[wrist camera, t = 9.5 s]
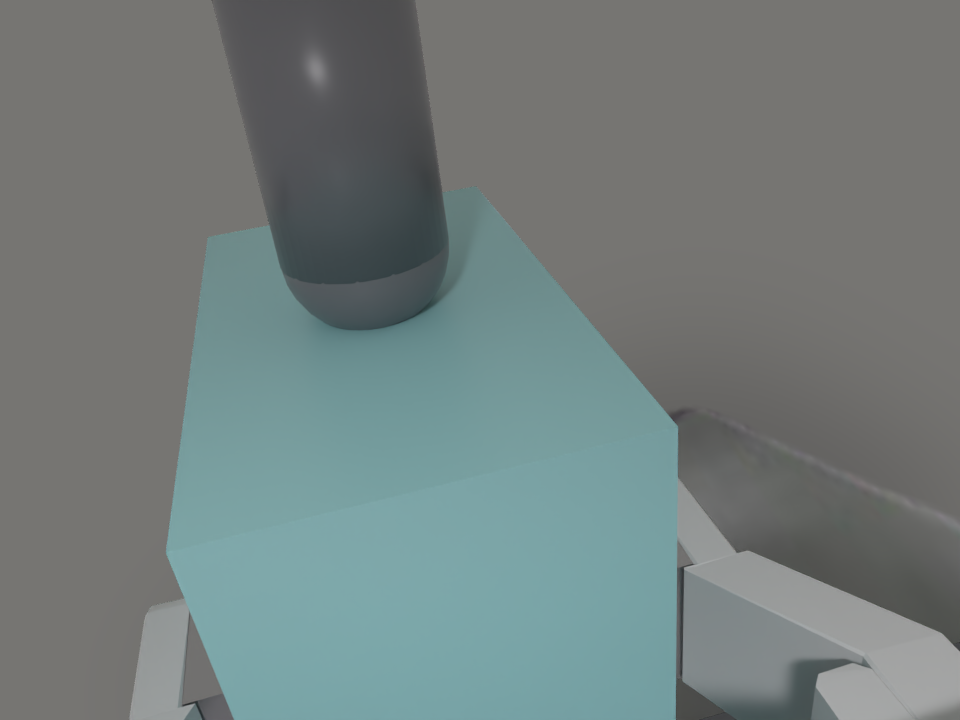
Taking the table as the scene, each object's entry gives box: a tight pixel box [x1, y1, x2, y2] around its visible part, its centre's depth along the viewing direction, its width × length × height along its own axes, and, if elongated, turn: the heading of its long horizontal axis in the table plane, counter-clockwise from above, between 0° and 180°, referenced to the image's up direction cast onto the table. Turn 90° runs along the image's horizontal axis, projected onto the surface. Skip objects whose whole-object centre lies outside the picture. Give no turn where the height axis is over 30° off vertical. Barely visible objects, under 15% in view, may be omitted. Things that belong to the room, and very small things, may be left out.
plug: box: [166, 0, 678, 720], centre depth 10 cm, size 4×6×14 cm, turn 14°
